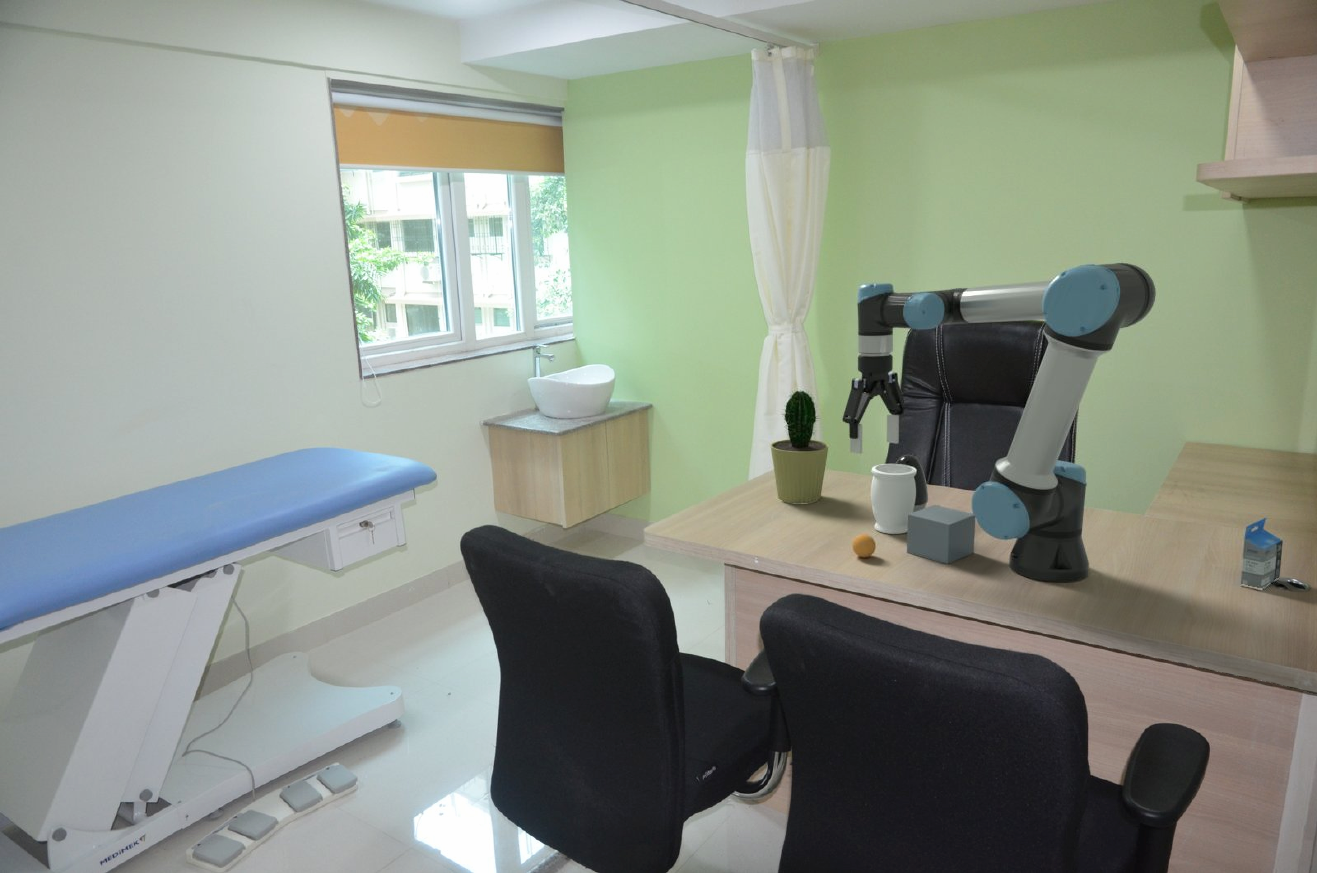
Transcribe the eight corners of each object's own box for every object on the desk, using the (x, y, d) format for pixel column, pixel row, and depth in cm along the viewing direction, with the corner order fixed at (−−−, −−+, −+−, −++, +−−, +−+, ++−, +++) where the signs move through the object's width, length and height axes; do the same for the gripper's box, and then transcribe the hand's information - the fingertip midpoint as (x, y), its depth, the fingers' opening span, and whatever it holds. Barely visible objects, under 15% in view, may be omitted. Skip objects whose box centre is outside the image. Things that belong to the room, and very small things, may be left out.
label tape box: (1261, 592, 170) (1268, 531, 167) (1237, 586, 173) (1244, 526, 170) (1279, 581, 175) (1287, 521, 172) (1256, 575, 178) (1263, 516, 175)
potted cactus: (762, 493, 245) (761, 386, 239) (813, 488, 249) (814, 382, 242) (782, 509, 231) (782, 395, 224) (837, 503, 234) (839, 391, 228)
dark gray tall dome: (932, 510, 226) (935, 452, 222) (920, 521, 217) (922, 461, 214) (893, 505, 231) (895, 448, 228) (880, 515, 223) (881, 457, 219)
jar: (916, 537, 206) (918, 474, 203) (870, 535, 208) (872, 473, 205) (912, 523, 216) (914, 463, 213) (869, 521, 218) (870, 462, 215)
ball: (880, 556, 194) (880, 535, 193) (865, 562, 191) (866, 540, 190) (861, 551, 198) (862, 529, 197) (847, 556, 195) (847, 534, 194)
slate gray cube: (973, 552, 195) (975, 514, 193) (947, 564, 189) (949, 524, 187) (933, 541, 203) (934, 504, 201) (906, 552, 196) (908, 514, 194)
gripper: (894, 347, 207) (893, 436, 211) (825, 358, 191) (826, 454, 195) (922, 349, 201) (920, 440, 205) (854, 360, 186) (854, 459, 190)
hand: (874, 447), depth 200 cm, fingers open, 13 cm apart
